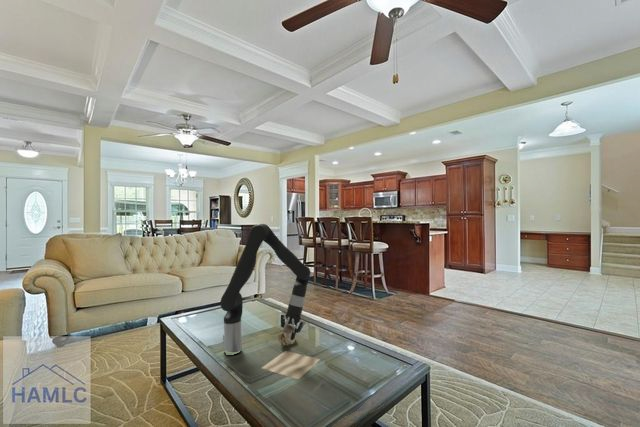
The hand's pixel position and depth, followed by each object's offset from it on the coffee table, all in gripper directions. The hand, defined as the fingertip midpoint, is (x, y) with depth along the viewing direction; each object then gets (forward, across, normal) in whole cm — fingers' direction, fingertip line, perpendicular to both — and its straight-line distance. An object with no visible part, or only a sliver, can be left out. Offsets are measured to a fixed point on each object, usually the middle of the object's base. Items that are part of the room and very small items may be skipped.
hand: (288, 338), depth 145 cm
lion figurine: (+10, -10, +21) cm, 25 cm away
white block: (+1, 0, +4) cm, 4 cm away
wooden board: (+12, +4, +3) cm, 13 cm away
